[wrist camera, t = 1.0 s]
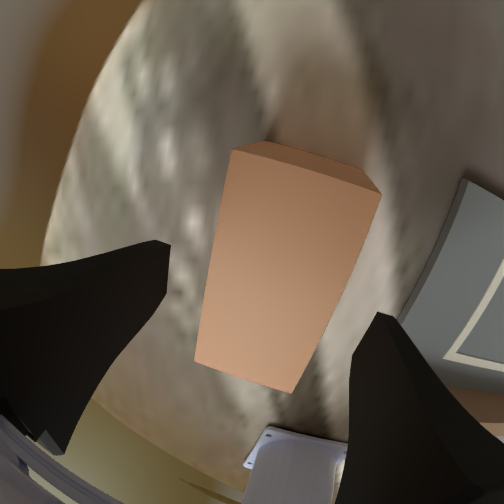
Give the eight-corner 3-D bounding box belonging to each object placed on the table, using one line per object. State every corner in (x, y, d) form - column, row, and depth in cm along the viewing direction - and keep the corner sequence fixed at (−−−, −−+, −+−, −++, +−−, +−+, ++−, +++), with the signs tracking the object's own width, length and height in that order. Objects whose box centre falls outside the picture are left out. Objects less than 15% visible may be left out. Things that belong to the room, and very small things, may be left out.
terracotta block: (303, 325, 16) (291, 393, 12) (227, 301, 17) (194, 361, 12) (362, 169, 12) (381, 194, 8) (265, 140, 13) (232, 149, 8)
